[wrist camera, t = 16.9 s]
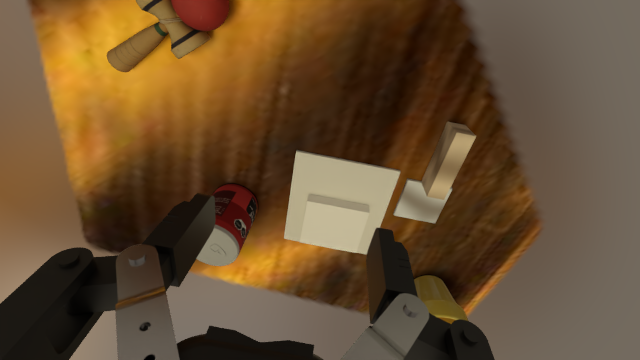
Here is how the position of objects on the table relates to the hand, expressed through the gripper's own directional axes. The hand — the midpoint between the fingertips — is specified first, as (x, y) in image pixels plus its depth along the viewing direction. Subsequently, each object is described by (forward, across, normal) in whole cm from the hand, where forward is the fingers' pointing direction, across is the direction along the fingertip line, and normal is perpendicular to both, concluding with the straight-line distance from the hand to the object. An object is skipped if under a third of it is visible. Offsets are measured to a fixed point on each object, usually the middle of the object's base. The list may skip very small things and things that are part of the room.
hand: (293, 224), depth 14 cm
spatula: (+28, -18, +10) cm, 35 cm away
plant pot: (+28, -26, +34) cm, 51 cm away
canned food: (+28, +12, +22) cm, 38 cm away
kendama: (+28, +20, -4) cm, 35 cm away
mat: (+28, -5, +19) cm, 34 cm away
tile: (+26, -5, +17) cm, 32 cm away
